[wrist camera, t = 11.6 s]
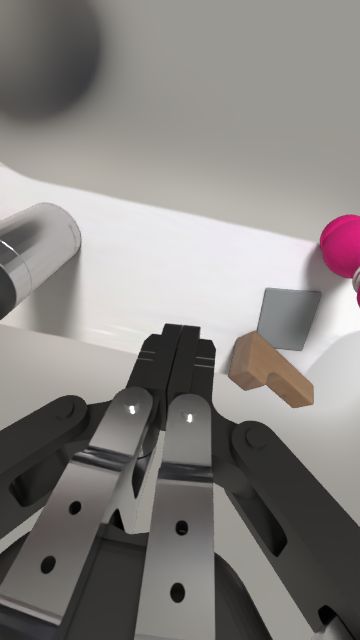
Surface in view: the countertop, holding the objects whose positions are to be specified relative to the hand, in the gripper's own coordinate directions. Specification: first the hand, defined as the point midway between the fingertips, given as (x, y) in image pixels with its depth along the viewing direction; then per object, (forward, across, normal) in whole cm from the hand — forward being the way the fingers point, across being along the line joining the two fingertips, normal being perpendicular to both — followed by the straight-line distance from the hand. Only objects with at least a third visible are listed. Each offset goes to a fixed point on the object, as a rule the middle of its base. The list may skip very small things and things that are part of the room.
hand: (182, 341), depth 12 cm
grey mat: (+33, -13, +21) cm, 41 cm away
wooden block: (+28, -6, +25) cm, 38 cm away
